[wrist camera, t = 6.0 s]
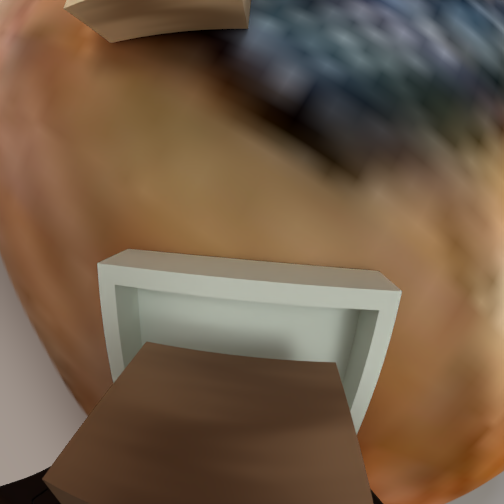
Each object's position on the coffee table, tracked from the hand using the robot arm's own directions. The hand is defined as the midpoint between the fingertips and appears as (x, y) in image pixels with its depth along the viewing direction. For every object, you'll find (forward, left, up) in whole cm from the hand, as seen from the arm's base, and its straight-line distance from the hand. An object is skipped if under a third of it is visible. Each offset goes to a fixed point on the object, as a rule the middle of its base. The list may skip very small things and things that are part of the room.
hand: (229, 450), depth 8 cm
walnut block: (0, 0, -2) cm, 2 cm away
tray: (0, 0, -5) cm, 5 cm away
